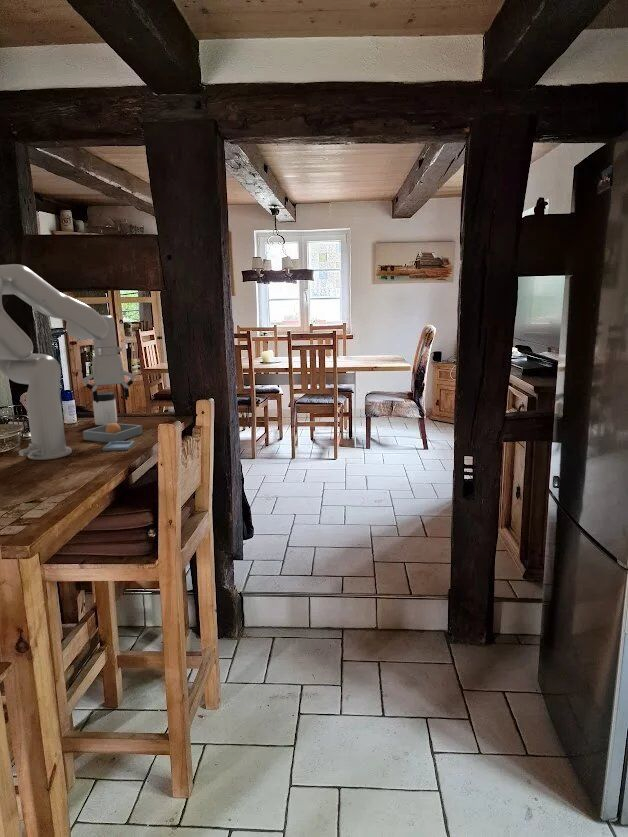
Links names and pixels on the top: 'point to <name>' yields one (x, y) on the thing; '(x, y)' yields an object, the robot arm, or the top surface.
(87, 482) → the top surface
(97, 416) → the jar
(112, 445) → the coaster
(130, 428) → the grey square tray
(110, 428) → the ball
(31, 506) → the top surface
